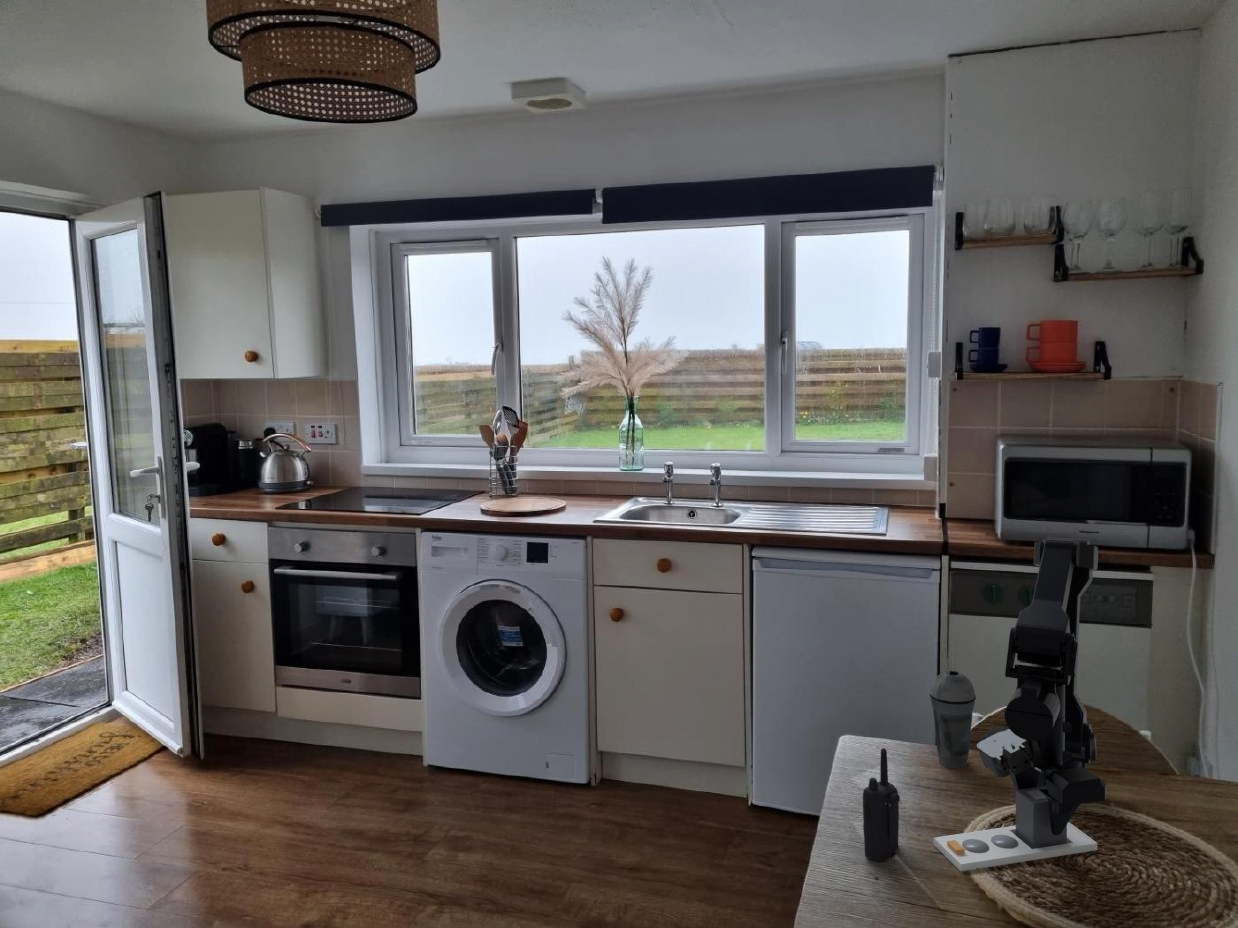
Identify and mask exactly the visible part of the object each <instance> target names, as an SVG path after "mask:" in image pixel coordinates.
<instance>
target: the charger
mask: <svg viewBox="0 0 1238 928" xmlns="http://www.w3.org/2000/svg"><path fill="white" fill-rule="evenodd" d="M1040 789H1047V788H1046V786H1041V787H1034V788H1027V789H1020V790H1015V825H1016V836H1017V837H1018V838H1019V839H1020V840H1022V841H1023V842H1024V843H1025V844H1026V845H1028V846H1029V847H1030V848H1031V849H1036V848H1043V847H1049V846H1056V845H1062V844H1067V825H1066V827H1065V828H1064V830H1063V832H1062V833H1061V834H1060V835H1053V834H1052V830H1051V824H1050V813H1049V802H1048V799H1047V798H1046V797H1045V796H1044V795H1043V794H1042V793H1041V792H1040V791H1039V790H1040Z"/></svg>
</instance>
